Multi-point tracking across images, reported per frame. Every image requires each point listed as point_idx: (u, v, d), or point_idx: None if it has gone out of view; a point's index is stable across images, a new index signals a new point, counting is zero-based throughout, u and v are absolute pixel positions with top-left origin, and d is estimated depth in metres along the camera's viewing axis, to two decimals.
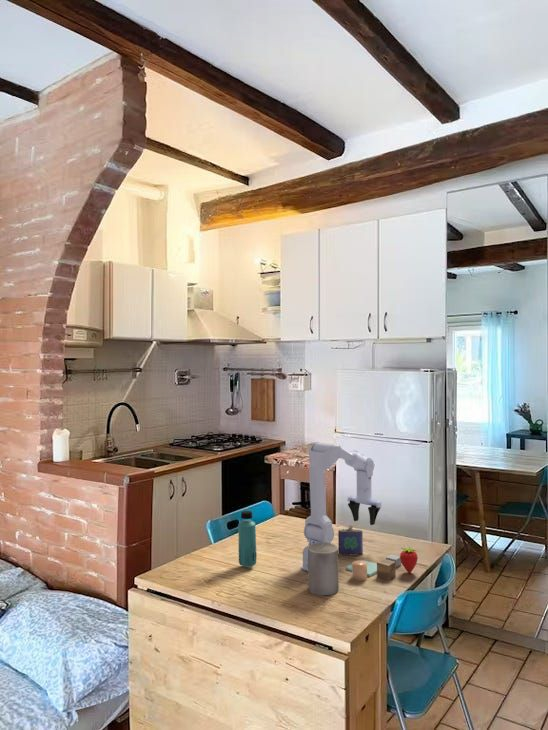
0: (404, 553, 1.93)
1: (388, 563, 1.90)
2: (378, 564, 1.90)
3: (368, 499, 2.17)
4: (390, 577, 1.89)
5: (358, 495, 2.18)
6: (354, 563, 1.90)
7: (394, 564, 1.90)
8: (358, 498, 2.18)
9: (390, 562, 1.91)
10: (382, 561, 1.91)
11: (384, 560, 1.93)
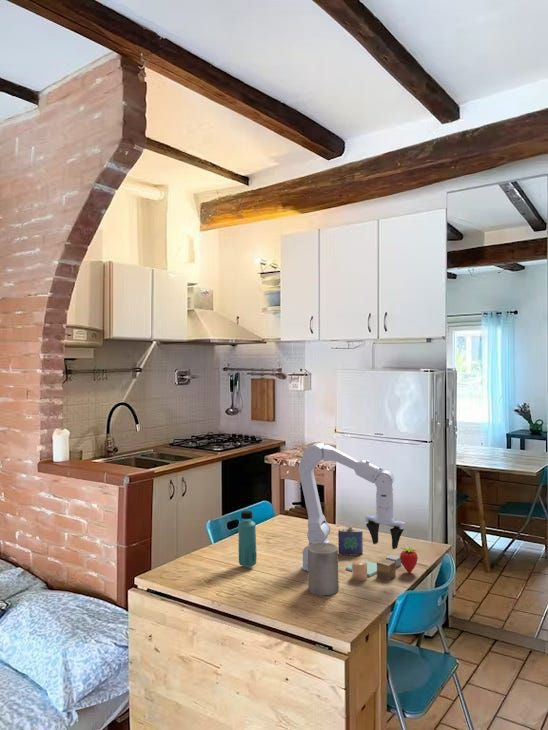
0: (404, 553, 1.93)
1: (388, 563, 1.90)
2: (378, 564, 1.90)
3: (390, 519, 1.90)
4: (390, 577, 1.89)
5: (378, 515, 1.91)
6: (354, 563, 1.90)
7: (394, 564, 1.90)
8: (378, 518, 1.91)
9: (390, 562, 1.91)
10: (382, 561, 1.91)
11: (384, 560, 1.93)
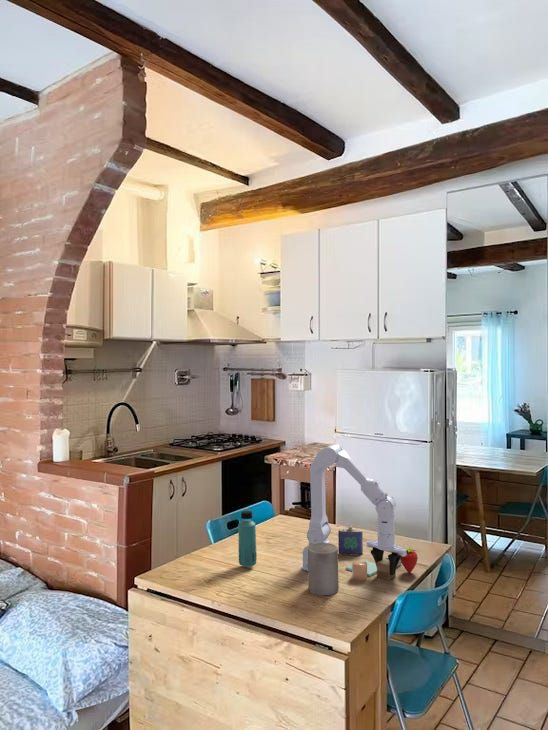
0: None
1: (388, 563, 1.90)
2: (378, 564, 1.90)
3: (391, 546, 1.88)
4: (390, 577, 1.89)
5: (379, 541, 1.89)
6: (354, 563, 1.90)
7: None
8: (379, 545, 1.89)
9: None
10: (382, 561, 1.91)
11: (384, 560, 1.93)
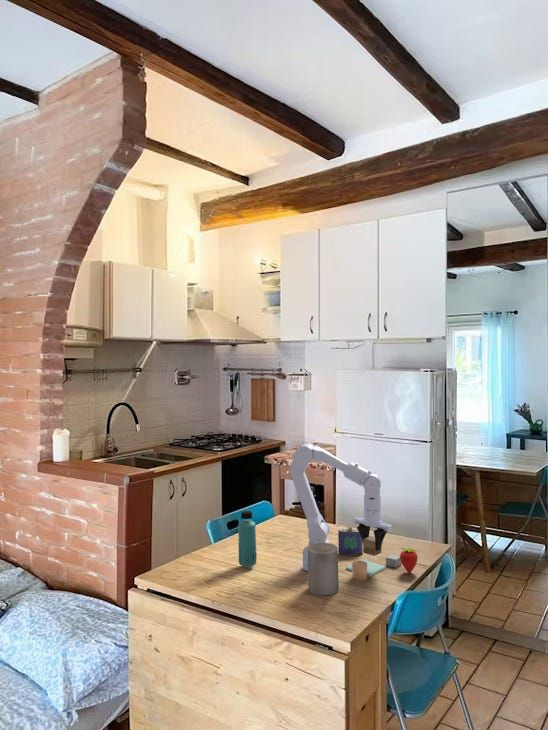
0: (404, 553, 1.93)
1: (374, 539, 1.94)
2: (364, 540, 1.95)
3: (377, 522, 1.93)
4: (376, 553, 1.93)
5: (365, 517, 1.94)
6: (354, 563, 1.90)
7: None
8: (365, 520, 1.94)
9: None
10: (369, 538, 1.96)
11: (370, 537, 1.97)
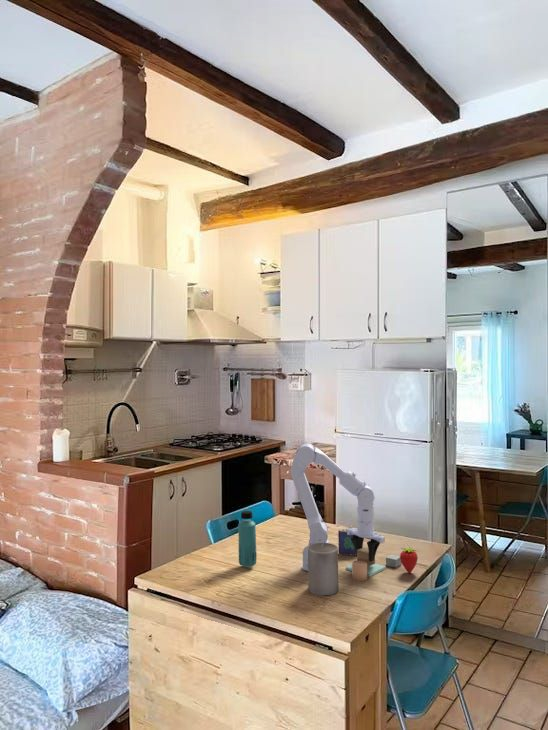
0: (404, 553, 1.93)
1: (368, 550, 1.97)
2: (358, 551, 1.97)
3: (370, 533, 1.95)
4: (369, 564, 1.96)
5: (359, 529, 1.96)
6: (354, 563, 1.90)
7: None
8: (359, 532, 1.96)
9: None
10: (362, 549, 1.98)
11: (364, 548, 2.00)
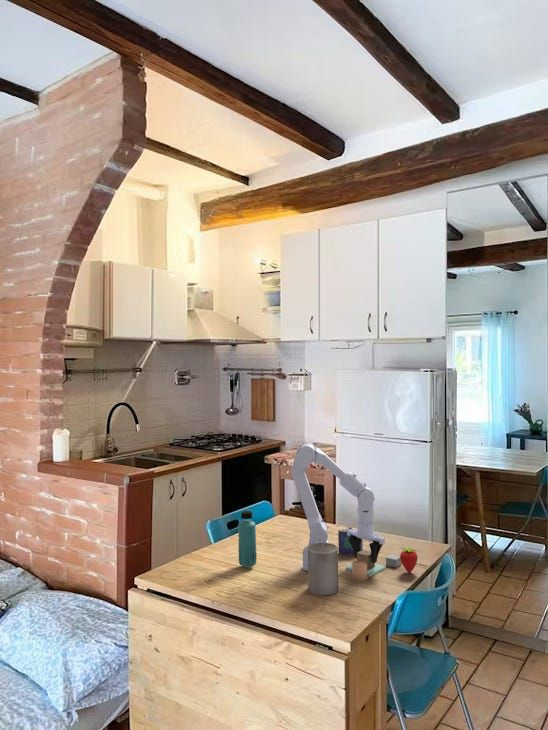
0: (404, 553, 1.93)
1: (367, 553, 1.97)
2: (358, 554, 1.97)
3: (370, 534, 1.95)
4: (369, 567, 1.96)
5: (359, 530, 1.96)
6: (354, 563, 1.90)
7: None
8: (359, 533, 1.96)
9: (369, 552, 1.98)
10: (362, 552, 1.98)
11: (364, 550, 2.00)
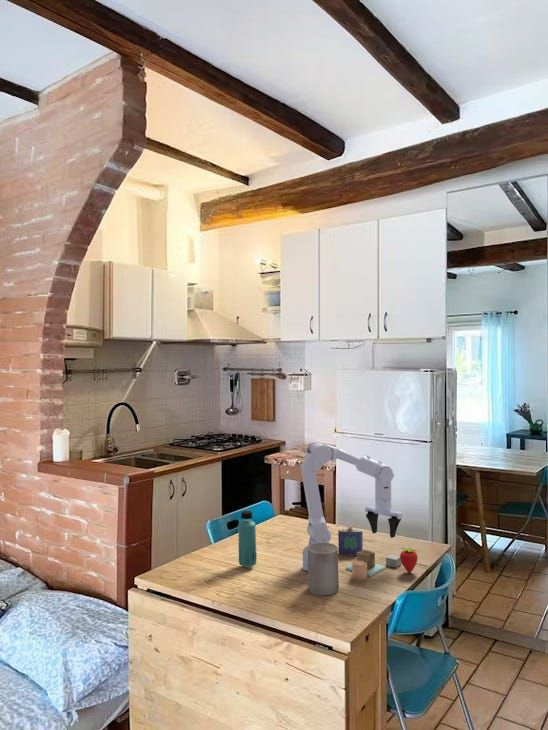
0: (404, 553, 1.93)
1: (367, 553, 1.97)
2: (358, 554, 1.97)
3: (388, 510, 2.02)
4: (369, 567, 1.96)
5: (377, 505, 2.03)
6: (354, 563, 1.90)
7: (373, 554, 1.97)
8: (377, 509, 2.03)
9: (369, 552, 1.98)
10: (362, 552, 1.98)
11: (364, 550, 2.00)
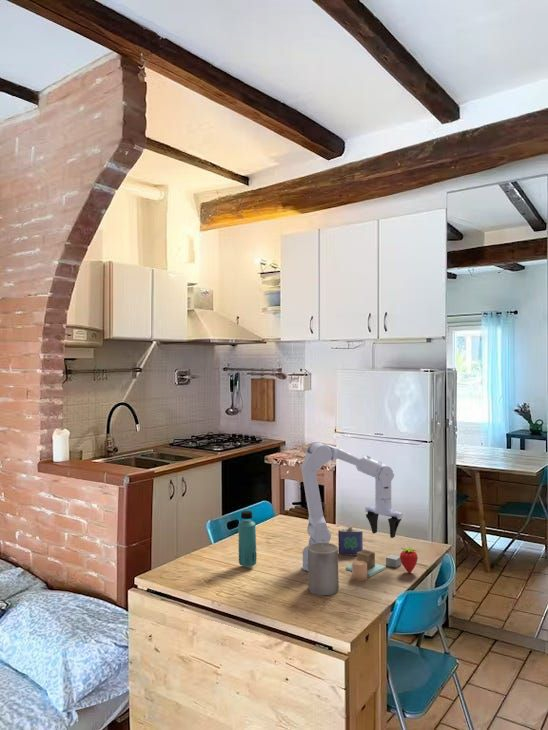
0: (404, 553, 1.93)
1: (367, 553, 1.97)
2: (358, 554, 1.97)
3: (388, 510, 2.02)
4: (369, 567, 1.96)
5: (377, 505, 2.03)
6: (354, 563, 1.90)
7: (373, 554, 1.97)
8: (377, 509, 2.03)
9: (369, 552, 1.98)
10: (362, 552, 1.98)
11: (364, 550, 2.00)
